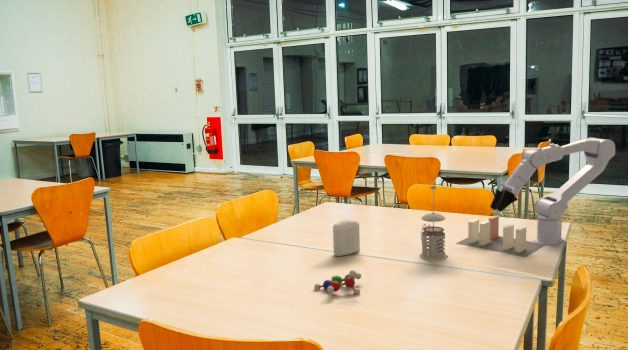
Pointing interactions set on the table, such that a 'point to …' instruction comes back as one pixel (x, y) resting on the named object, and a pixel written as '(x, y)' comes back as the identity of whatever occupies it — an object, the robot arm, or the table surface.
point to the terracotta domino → (494, 226)
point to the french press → (436, 241)
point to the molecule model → (337, 281)
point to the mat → (497, 246)
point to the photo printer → (346, 237)
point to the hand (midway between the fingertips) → (495, 209)
